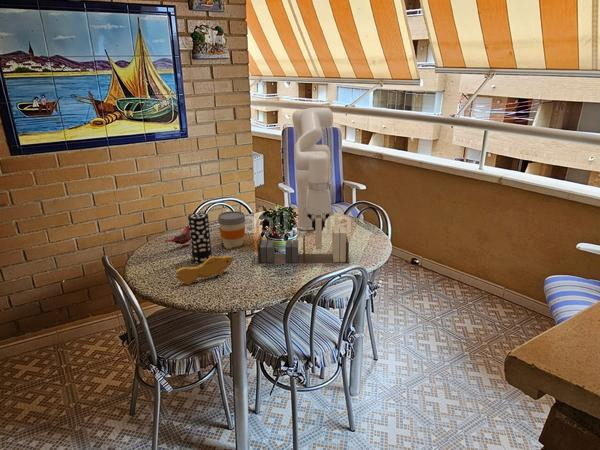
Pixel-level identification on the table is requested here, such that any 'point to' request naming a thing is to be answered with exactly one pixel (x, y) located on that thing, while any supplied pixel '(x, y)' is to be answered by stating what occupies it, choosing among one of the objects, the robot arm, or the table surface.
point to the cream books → (339, 244)
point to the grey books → (268, 251)
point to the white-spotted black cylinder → (200, 237)
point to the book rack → (304, 256)
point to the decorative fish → (204, 269)
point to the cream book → (318, 231)
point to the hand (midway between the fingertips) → (318, 228)
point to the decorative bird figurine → (182, 237)
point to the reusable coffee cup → (232, 228)
